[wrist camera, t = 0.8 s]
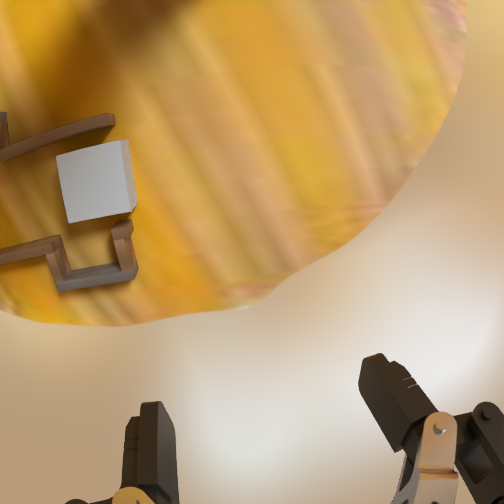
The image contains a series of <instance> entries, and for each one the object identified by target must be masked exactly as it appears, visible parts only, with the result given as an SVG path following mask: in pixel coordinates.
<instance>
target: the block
mask: <svg viewBox="0 0 504 504" xmlns="http://www.w3.org/2000/svg"><path fill="white" fill-rule="evenodd" d="M56 161H57V167H58V173H59V179H60V184H61V190H62V195H63V200H64V205H65V209H66V214H67V218H68V222H69V223H73V222H78V221H83V220H88V219H94V218H99V217H104V216H109V215H115V214H120V213H126V212H131V211H132V210H133V209H134V207H135V206H136V205H137V203H138V200H137V194H136V188H135V182H134V176H133V169H132V162H131V155H130V147H129V139H124V140H117V141H113V142H108V143H104V144H100V145H95V146H91V147H87V148H83V149H79V150H76V151H72V152H68V153H65V154H61V155H57V156H56Z"/></svg>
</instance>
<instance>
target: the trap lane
mask: <svg viewBox="0 0 504 504" xmlns="http://www.w3.org/2000/svg"><path fill="white" fill-rule="evenodd" d="M113 125H115V120H114V114H109V113H104V114H100V115H97V116H93V117H90V118H86V119H83V120H80V121H76V122H73V123H70V124H67V125H64V126H61V127H58V128H55V129H52V130H49V131H46V132H44V133H41V134H38V135H36V136H33V137H30V138H28V139H25V140H23V141H20V142H18V143H15V144H13V145H11V146H10V144H9V136H8V127H7V116H6V112H0V162H3V161H6V160H9V159H11V158H14V157H16V156H19V155H21V154H24V153H26V152H29V151H32V150H34V149H37V148H40V147H43V146H46V145H49V144H51V143H54V142H57V141H61V140H64V139H67V138H70V137H73V136H77V135H80V134H83V133H87V132H90V131H94V130H98V129H101V128H105V127H109V126H113ZM133 230H134V228H133V223H132V219H130V220H125V221H120V222H117V223H116V224H115V225H114V227H113V228H112V229H111V234H112V238H113V241H114V245H115V249H116V253H117V256H118V260H119V262H116V263H110V264H105V265H99V266H94V267H88V268H82V269H77V270H71V268H70V265H69V262H68V259H67V256H66V252H65V249H64V246H63V242H62V239H61V235H56V236H52V237H47V238H43V239H39V240H35V241H31V242H27V243H23V244H19V245H15V246H11V247H8V248H4V249H0V265H2V264H7V263H11V262H15V261H20V260H24V259H29V258H33V257H38V256H42V255H46V258H47V261H48V264H49V267H50V270H51V272H52V275H53V278H54V281H55V283H56V286H57V289H58V291H59V292H60V291H66V290H73V289H79V288H85V287H91V286H98V285H104V284H110V283H116V282H122V281H128V280H135V277H136V274H137V271H138V264H137V260H136V257H135V253H134V249H133V245H132V241H131V237H130V235H131V233H132V232H133Z"/></svg>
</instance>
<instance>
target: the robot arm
mask: <svg viewBox="0 0 504 504" xmlns="http://www.w3.org/2000/svg"><path fill="white" fill-rule="evenodd" d="M358 385H359V391H360V393H361V395H362V397H363V399H364V401H365V402H366V404H367V406H368V408H369V409H370V411H371V413H372V414H373V416H374V418H375V420H376V421H377V423H378V425H379V426H380V428H381V430H382V432H383V433H384V435H385V437H386V439H387V440H388V442H389V444H390V445H391V447H392V449H393V451H394V452H395V453H396V452H398V451H400V450H402V449H403V450H404V451H405V453H406V454H405V457H404V462H403V466H402V470H401V475H400V479H399V483H398V487H397V490H396V493H395V496H394V498H393V500H392V502H391V504H455V499H456V493H457V486H458V473H457V472H455V471H454V464H455V465H456V467H457V469H458V471H459V473H460V475H461V476H462V478H463V480H464V482H465V483H466V486H467V487H468V489H469V491H470V493H471V495H472V497H473V498H474V501H475V503H476V504H504V415H503V413H502V412H501V411H500V409H499V408H498V407H497V406H496V405H495V404H493V403H491V402H482V403H480V404H478V405H477V406H476V407H475V409H474V410H473V412H470V413H465V414H461V415H457V416H452V415H450V414H448V413H446V412H439V411H438V410H437V409H436V408H435V406H434V405H433V404H432V402H431V401H430V400H429V398H428V397H427V396H426V394H425V393H424V392H423V390H422V389H421V388H420V386H419V385H417V383H416V381H415V380H414V379H413V378H412V377H411V375H410V373H409V372H408V371H407V370H406V368H405V367H404V366H402V365H400V364H398V363H397V362H395V361H392V362H390V363H389V361H388V360H387V359H386V357H385V356H384V355H383V354H382V353H378V354H376V355H372V356H369V357H367V358H364V359H363V361H362V366H361V371H360V377H359V382H358ZM177 478H178V477H177V461H176V437H175V429H174V426H173V423H172V421H171V419H170V417H169V415H168V413H167V411H166V409H165V407H164V406H163V404H162V402H161V401H156V402H145V403H142V404H141V408H140V416H136V417H131V419H130V421H129V423H128V425H127V426H126V431H125V442H124V454H123V468H122V483H121V487H120V489H119V491H117V492H116V494H115V495H114V496H113V497H111V498H110V499H107V500H103V501H99V502H94V503H90V504H179V491H178V479H177ZM65 504H88V503H86V502H85V501H83V500H80V499H73V500H70V501H68V502H67V503H65Z"/></svg>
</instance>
